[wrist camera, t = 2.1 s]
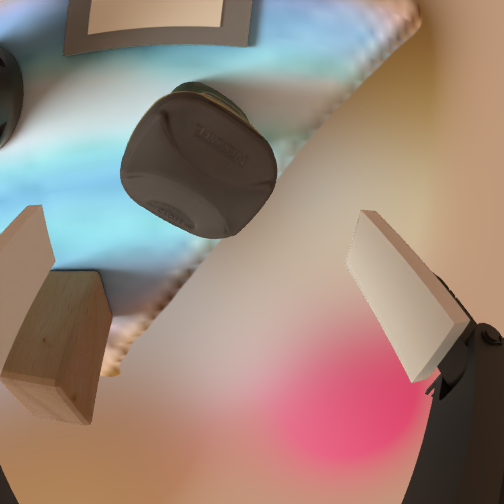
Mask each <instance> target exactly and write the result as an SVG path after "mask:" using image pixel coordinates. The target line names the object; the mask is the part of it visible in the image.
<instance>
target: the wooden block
mask: <svg viewBox="0 0 504 504" xmlns="http://www.w3.org/2000/svg"><path fill="white" fill-rule="evenodd" d="M112 318H113V317H112V314H111V311H110V308H109V304H108V301H107V298H106V295H105V291H104V288H103V284H102V281H101V277H100V274H99V273H98V272H96V271H50V272H49V273H48V275H47V277H46V279H45V280H44V282H43V284H42V286H41V288H40V289H39V291H38V293H37V295H36V297H35V299H34V301H33V303H32V305H31V306H30V308H29V310H28V312H27V314H26V316H25V319H24V321H23V323H22V325H21V327H20V329H19V331H18V333H17V336H16V338H15V340H14V342H13V345H12V347H11V349H10V352H9V354H8V356H7V359H6V361H5V364H4V366H3V369H2V372H1V374H0V381H1V382H2V383H3V384H4V385H5V387H6V388H7V389H8V390H9V391H10V392H11V394H12V395H13V396H14V397H15V398H16V399H17V400H18V401H19V402H20V403H21V405H22V406H23V407H24V408H25V409H26V410H27V411H28V412H29V413H30V414H32V415H33V416H37V417H42V418H47V419H51V420H57V421H63V422H68V423H74V424H80V425H90V424H91V422H92V416H93V410H94V404H95V398H96V392H97V386H98V381H99V376H100V371H101V366H102V361H103V356H104V352H105V347H106V343H107V339H108V334H109V330H110V326H111V322H112Z"/></svg>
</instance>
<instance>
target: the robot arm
mask: <svg viewBox="0 0 504 504" xmlns="http://www.w3.org/2000/svg"><path fill="white" fill-rule="evenodd" d="M22 100H23V82H22V76H21V72H20V68H19V66H18V63H17V61H16V60H15V58H14V57H13V55H12V54H11V53H10V52H9V51H7V50H6V49H4V48H1V47H0V148H1V147H2V146H3V145H4V144H5V143H6V142H7V141H8V139H9V138H10V136H11V135H12V133H13V131H14V129H15V127H16V125H17V122H18V119H19V116H20V112H21V107H22ZM54 263H55V257H54V254H53V250H52V247H51V243H50V239H49V235H48V231H47V226H46V222H45V218H44V213H43V208H42V205H30V206H27V207H26V208H25V209H24V210H23V211H22V212H21V213H20V214H19V215H18V216H17V217H16V218H15V219H14V220H13V221H12V222H11V224H10V225H9V226H8V227H7V228H6V229H5V230H4V231H3V232H2V233H1V235H0V374H1V372H2V369H3V366H4V364H5V361H6V359H7V356H8V354H9V352H10V349H11V347H12V345H13V342H14V340H15V338H16V336H17V333H18V331H19V329H20V327H21V325H22V323H23V321H24V319H25V316H26V314H27V312H28V310H29V308H30V306H31V305H32V303H33V301H34V299H35V297H36V295H37V293H38V291H39V289H40V288H41V286H42V284H43V282H44V280H45V279H46V277H47V275H48V273H49V272H50V270H51V268H52V266H53V265H54ZM345 265H346V266H347V268H348V270H349V271H350V273H351V275H352V276H353V278H354V280H355V281H356V283H357V285H358V286H359V288H360V290H361V291H362V293H363V295H364V296H365V298H366V300H367V301H368V303H369V305H370V307H371V308H372V310H373V312H374V314H375V316H376V317H377V319H378V321H379V323H380V324H381V326H382V328H383V330H384V332H385V333H386V335H387V337H388V339H389V341H390V343H391V344H392V346H393V348H394V350H395V352H396V354H397V356H398V358H399V359H400V361H401V363H402V365H403V367H404V369H405V371H406V373H407V375H408V377H409V378H410V381H411V383H413V382H417V381H421V380H424V379H427V378H429V376H430V375H431V374H432V372H434V370H435V369H436V368H437V367H438V369H439V371H440V372H441V374H440V375H439V376H438V377H437V379H436V380H435V381H434V382H433V383H432V385H431V386H430V387H429V388H428V389H427V391H426V393H425V394H427V395H428V394H429V393H430V392H431V390H432V389H434V388H435V390H434V393H433V394H432V397H433V400H432V405H431V409H430V414H429V418H428V422H427V426H426V431H425V434H424V438H423V442H422V445H421V449H420V452H419V456H418V459H417V462H416V465H415V468H414V471H413V474H412V477H411V480H410V483H409V486H408V488H407V491H406V494H405V496H404V499H403V501H402V504H504V338H502V336H501V334H500V333H499V332H498V331H497V330H496V329H495V328H494V327H492V326H491V325H489V324H486V323H479V324H478V325H477V323H476V322H475V321H474V320H473V318H472V317H471V316H470V314H469V313H468V312H467V310H466V309H465V308H464V306H463V305H462V304H461V302H460V301H459V300H458V299H457V298H455V295H454V294H453V292H452V291H451V290H449V288H448V286H447V285H446V284H445V283H444V282H443V280H442V279H441V278H439V277H438V276H437V275H435V274H434V273H433V272H432V271H431V270H430V269H429V268H428V267H427V266H426V264H425V263H424V262H423V261H422V260H421V259H420V258H419V256H418V255H417V254H416V253H415V252H414V251H413V250H412V249H411V248H410V246H409V245H408V244H407V243H406V242H405V241H404V240H403V239H402V238H401V237H400V236H399V234H398V233H396V231H395V230H394V229H393V228H392V227H391V226H390V225H389V224H388V223H387V222H386V221H385V220H384V219H383V218H382V217H381V216H380V215H379V214H378V213H377V212H376V211H368V210H361V211H360V215H359V219H358V222H357V226H356V229H355V232H354V236H353V240H352V242H351V246H350V249H349V253H348V255H347V259H346V262H345ZM0 504H19V503H18V501H17V500H16V497H15V496H14V494H13V492H12V490H11V488H10V485H9V483H8V481H7V479H6V477H5V475H4V473H3V471H2V468H1V466H0Z"/></svg>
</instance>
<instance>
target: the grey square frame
mask: <svg viewBox="0 0 504 504" xmlns="http://www.w3.org/2000/svg"><path fill="white" fill-rule="evenodd" d="M252 2H253V0H69V5H68V12H67V21H66V30H65V42H64V56H71V55H76V54H82V53H88V52H94V51H101V50H109V49H118V48H128V47H140V46H157V45H214V46H232V47H244V48H246V47H247V44H248V36H249V27H250V19H251V11H252Z"/></svg>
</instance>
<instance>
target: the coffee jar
mask: <svg viewBox="0 0 504 504" xmlns="http://www.w3.org/2000/svg"><path fill="white" fill-rule="evenodd" d="M120 178H121V182H122V185H123V187H124V189H125V191H126V193H127V194H128V195H129V196H130V198H132V199H133V200H134V201H135V202H136V203H138V204H139V205H140V206H142V207H144V208H145V209H147V210H148V211H150V212H152V213H153V214H155V215H156V216H158V217H160V218H162V219H163V220H165V221H167V222H169V223H171V224H172V225H175V226H177V227H179V228H181V229H183V230H185V231H187V232H189V233H191V234H194V235H196V236H199V237H203V238H208V239H221V238H227V237H230V236H234V235H236V234H237V233H238V232H239V231H241V230H242V229H243V228H244V227H245V226H246V225H247V224H248V223H249V222H250V221H251V220H252V219H253V217H254V216H255V215H256V214H257V213H258V212H259V210H260V209H261V208H262V207H263V205H264V204H265V202H266V201H267V200H268V198H269V197H270V195H271V194H272V192H273V190H274V187H275V184H276V179H277V163H276V159H275V156H274V153H273V151H272V148H271V146H270V145H269V143H268V142H267V141H266V140H265V138H264V137H263V136H262V135H261V134H260V133H259V132H258V131H257V130H256V129H255V128H254V127H253V126H252V125H251V124H250V123H249V121H248V119H247V117H246V116H245V114H244V113H243V111H242V110H241V109H240V108H239V107H237V106H236V105H235V104H234V103H233V102H232V101H231V100H229V99H228V98H226V97H225V96H224V95H222V94H221V93H219V92H217V91H216V90H214V89H212V88H210V87H208V86H206V85H204V84H202V83H198V82H187V83H183V84H181V85H179V86H178V87H176V88H175V89H174V90H173V91H172V92H171V93H170V94H168V95H165V96H163V97H162V98H160V99H159V100H157V101H156V102H155V103H154V104H153V105H152V106H151V107H150V108H149V109H148V110H147V111H146V113H145V114H144V116H143V117H142V118H141V120H140V121H139V123H138V124H137V126H136V128H135V129H134V131H133V133H132V135H131V137H130V139H129V141H128V143H127V147H126V150H125V153H124V156H123V158H122V162H121V168H120Z"/></svg>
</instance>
